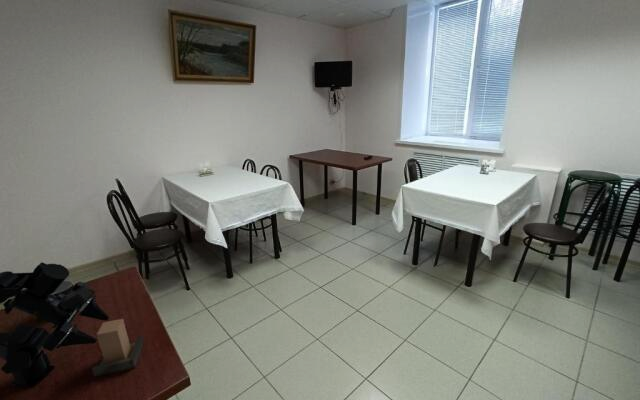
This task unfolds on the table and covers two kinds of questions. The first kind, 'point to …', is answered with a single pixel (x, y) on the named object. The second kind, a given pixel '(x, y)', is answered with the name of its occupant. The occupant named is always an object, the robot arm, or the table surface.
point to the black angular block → (64, 288)
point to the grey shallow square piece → (120, 361)
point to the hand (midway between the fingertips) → (102, 329)
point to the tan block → (113, 341)
